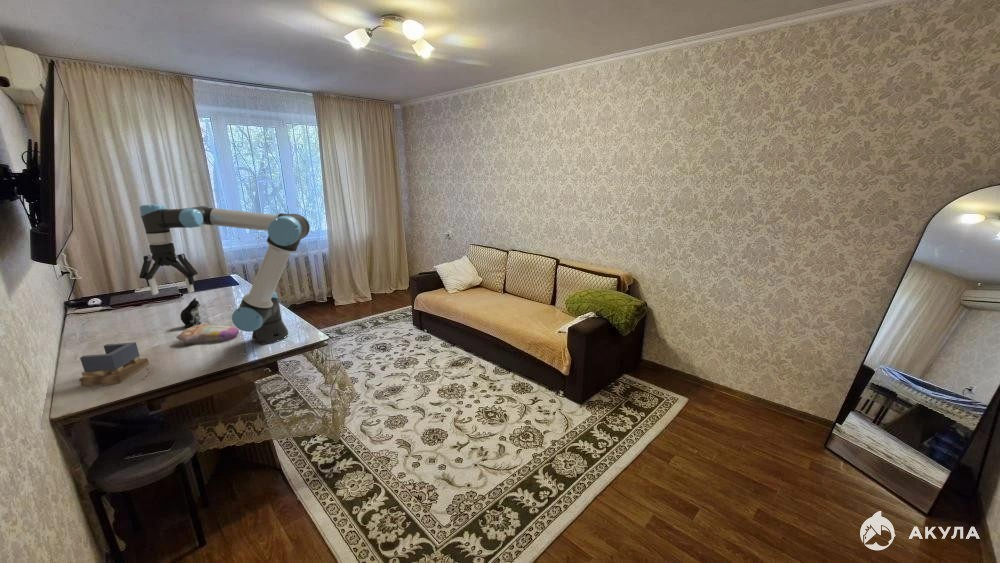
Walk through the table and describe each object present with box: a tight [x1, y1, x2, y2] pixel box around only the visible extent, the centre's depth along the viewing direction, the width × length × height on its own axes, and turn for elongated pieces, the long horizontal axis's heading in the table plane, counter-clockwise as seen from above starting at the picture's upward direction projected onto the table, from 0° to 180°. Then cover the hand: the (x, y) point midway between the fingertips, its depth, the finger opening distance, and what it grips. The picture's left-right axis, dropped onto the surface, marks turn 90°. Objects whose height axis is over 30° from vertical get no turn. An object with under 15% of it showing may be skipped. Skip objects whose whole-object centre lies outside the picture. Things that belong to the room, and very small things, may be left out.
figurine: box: [180, 297, 202, 329], centre depth 198 cm, size 10×10×15 cm
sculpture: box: [176, 323, 240, 343], centre depth 185 cm, size 17×7×25 cm
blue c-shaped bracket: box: [79, 341, 140, 372], centre depth 149 cm, size 10×12×6 cm
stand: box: [79, 356, 150, 387], centre depth 150 cm, size 13×15×5 cm
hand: (173, 293), depth 159 cm, fingers open, 13 cm apart
